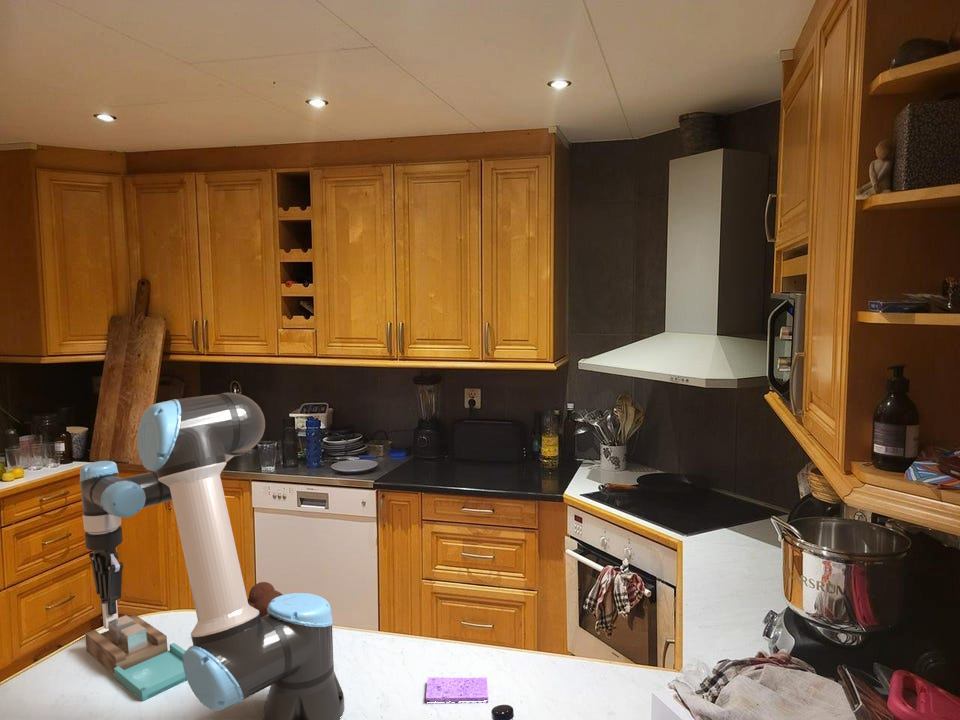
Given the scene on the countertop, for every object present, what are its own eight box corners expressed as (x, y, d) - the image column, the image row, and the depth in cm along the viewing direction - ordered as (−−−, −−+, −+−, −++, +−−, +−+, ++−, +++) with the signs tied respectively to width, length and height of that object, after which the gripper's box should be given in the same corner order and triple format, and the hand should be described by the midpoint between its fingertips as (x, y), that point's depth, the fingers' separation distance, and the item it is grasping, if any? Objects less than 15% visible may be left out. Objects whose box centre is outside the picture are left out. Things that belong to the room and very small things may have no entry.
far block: (135, 637, 154) (133, 620, 154) (117, 644, 151) (115, 627, 151) (127, 631, 157) (126, 615, 156) (109, 638, 154) (108, 622, 153)
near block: (147, 645, 151) (146, 628, 150) (128, 653, 148) (127, 636, 147) (139, 639, 153) (137, 623, 153) (120, 647, 150) (119, 630, 150)
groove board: (167, 654, 152) (166, 635, 152) (117, 676, 144) (115, 657, 143) (136, 632, 162) (134, 614, 162) (86, 651, 154) (85, 633, 154)
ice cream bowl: (230, 657, 151) (227, 593, 149) (260, 632, 162) (257, 572, 160) (271, 664, 148) (268, 599, 146) (299, 638, 159) (296, 577, 157)
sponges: (427, 685, 141) (427, 676, 140) (488, 684, 141) (487, 675, 140) (425, 706, 134) (425, 697, 133) (488, 705, 134) (488, 696, 133)
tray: (203, 672, 145) (203, 662, 145) (142, 701, 135) (141, 691, 135) (174, 651, 154) (173, 642, 153) (114, 677, 144) (113, 668, 143)
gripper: (132, 530, 154) (140, 628, 156) (108, 518, 162) (115, 611, 165) (97, 540, 148) (106, 641, 151) (74, 527, 156) (82, 623, 159)
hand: (111, 625), depth 158 cm, fingers closed
